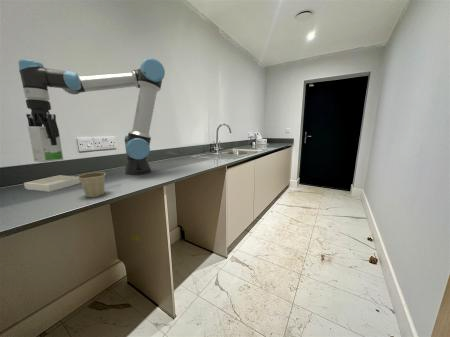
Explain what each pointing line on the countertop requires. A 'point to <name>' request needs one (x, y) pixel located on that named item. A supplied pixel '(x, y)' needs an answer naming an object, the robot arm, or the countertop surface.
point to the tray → (52, 183)
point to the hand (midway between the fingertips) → (48, 152)
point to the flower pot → (93, 183)
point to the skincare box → (43, 145)
